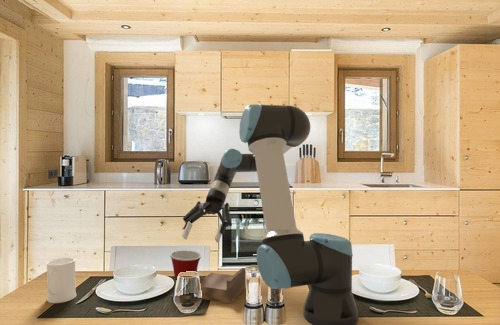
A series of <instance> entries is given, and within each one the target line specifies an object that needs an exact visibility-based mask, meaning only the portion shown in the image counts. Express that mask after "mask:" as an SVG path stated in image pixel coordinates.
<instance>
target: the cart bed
mask: <svg viewBox="0 0 500 325" xmlns="http://www.w3.org/2000/svg"><path fill="white" fill-rule="evenodd" d="M199 281H200V283H201V290H202V299H201V300H207V301H213V302H220V303H224V304H225V303H226V304H231V303H232V302H233V301H234V300H236V298H238V296H240V295H241V294H242V293H243V292H244V290H246V267H245V268H244V267H242V268H240V269H238V271H237V272H235V273H234V274H233V275H231V274H224V273H215V272H210V273H209V274H208V275H206V276H205V277H203V278H202V279H200V280H199Z"/></svg>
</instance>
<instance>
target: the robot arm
mask: <svg viewBox="0 0 500 325" xmlns="http://www.w3.org/2000/svg"><path fill="white" fill-rule="evenodd" d="M310 132H311V121H310V119H309V116H308V115H307V114H306V113H305V112H304V110H303V109H301V108H299V107H298V106H295V105H294V106H293V105H279V104H276V105H275V104H262V103H259V104H248V105H247V106H245V107H244V109H243V111H242V115H241V116H240V122H239V139H240V141H241V142H243V144H246V143H247V145H248V146H247V147H248V151H249V152H251V153H241V151H240V150H238V149H235V148H228V149H226V150H225V151H224V153H223V154H222V157H221V158H220V162H219V166H218V168H217V170H216V173H215V176H214V178H213V181H212V183H211V186H210V187H209V191H208V193H207V195H206V197H205V201H204V202H201V201H199V200H198V201H197V202H196V204H195V205H194V206H193V207H192V208H191V209H190V210H189V212H187V214H185V215H184V216H183V218H182V220H183V222H184V223H185V224H184V226H183V229H184V230H183V232H182V235H181V236H182V237H183V239H184V240H187V239H188V236H189V234H190V232H191V230H192V228H193V223H195V222H196V221H198V220H199V219H200V218H202V217H204V216H206V215H216V214H217V215H218V218H219V219H220V222H221V223H219V225H218V228H217V231H216V234H215V236H214V240H215V242H216V243H218V244H219V242H220V240H221V238H222V235H224V234H225V231H226V229H227V227H232V226H233V223H232V219H231V213H230V209H231V206H230V204H229V203H228V202H226V198H227V196H228V193H229V190H230V188H231V186H232V183H233V181H234V178H235V175H236V174H237V173H255V172H256V174H257V180H258V187H259V194H260V199H261V200H260V201H261V207H262V213H263V220H264V227H265V234H264V236H263V237H262V238H261V243H262V244H261V245H260V246H258V247H257V250H256V255H257V256H256V264H257V268H258V272H259V274H260V276H261V279H262V280H263V282H264V283H265V285H266V286H267V287H269V288H270V289H272V290H279V289H280V290H281V289H285V290H286V289H290V288H296V287H303V286H309V290H308V293H307V297H306V298H305V302H304V305H303V316H304V319H305V320H306V321H307V322H309V323H311V324H312V325H356V324H358V321H359V310H358V307H357V304H356V300H355V296H354V294H353V287H352V286H353V278H352V277H353V256H354V254H353V247H352V243H351V241H350V240H349V239H348V238H346V237H343V236H341V235H340V236H339V235H335V234H330V233H323V232H321V233H320V232H315V233H311V234H310V235H309V240H305V237H304V236H305V235H304V233H303V232H302V231H301V230H300V229H298V227H297V224H296V216H295V212H294V207H293V200H292V195H291V189H290V183H289V180H288V178H289V177H288V173H287V166H286V161H285V156H284V154H286V153H287V152H288V151H290V150H291V149H292V148H296V147H299V146H300V145H302V144H303V143H304V142H305V141H306V140H307V138H308V137H309V135H310ZM225 202H226V203H225ZM221 210H224V212H225V213H224V214H225V217H226V221H225V219H224V217H223V215H222V214H221Z"/></svg>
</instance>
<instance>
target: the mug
mask: <svg viewBox="0 0 500 325" xmlns="http://www.w3.org/2000/svg"><path fill="white" fill-rule="evenodd" d="M46 274H47V275H46V279H47V280H46V289H47V290H46V291H47V296H46V297H47V298H46V302H47V303H49V304H61V303H66V302H70V301H72V300H74V299H76V297H77V292H76V291H77V289H76V288H77V287H76V259H75V258H73V257H60V258H54V259H52V260H49V261H47V263H46Z"/></svg>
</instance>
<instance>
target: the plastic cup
mask: <svg viewBox="0 0 500 325" xmlns="http://www.w3.org/2000/svg"><path fill="white" fill-rule="evenodd" d="M169 257H170V259H171V263H172V268H173V275H174V279H175V281H176V280H177V276H178V274H179V273H180V272H186V271H196V272H198V268H199V266H198V265H199V262H200V260H201V258H202V253H200V252H197V251H195V250H185V249H184V250H176V251H172V252H170V254H169Z"/></svg>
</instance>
